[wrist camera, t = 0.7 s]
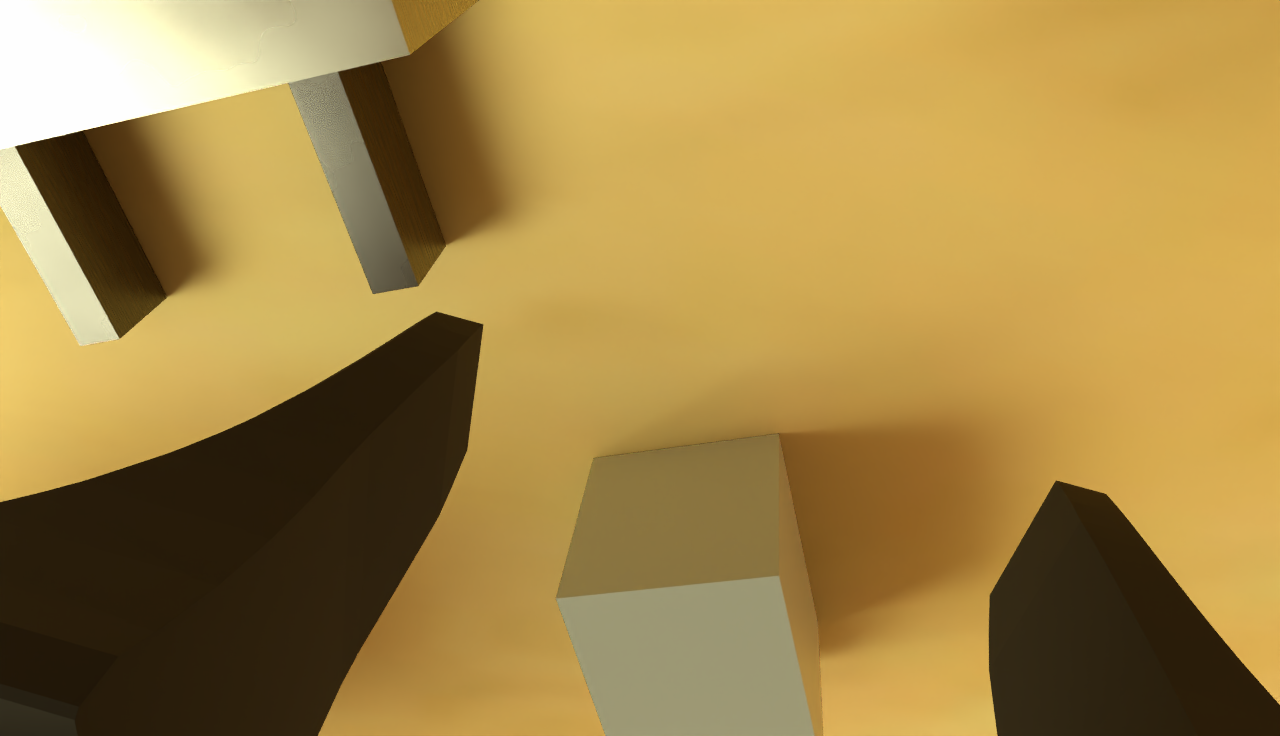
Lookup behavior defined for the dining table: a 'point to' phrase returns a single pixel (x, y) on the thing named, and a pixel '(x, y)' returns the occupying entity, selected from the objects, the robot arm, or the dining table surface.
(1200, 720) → the robot arm
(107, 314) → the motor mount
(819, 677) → the grey block
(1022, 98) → the dining table surface
